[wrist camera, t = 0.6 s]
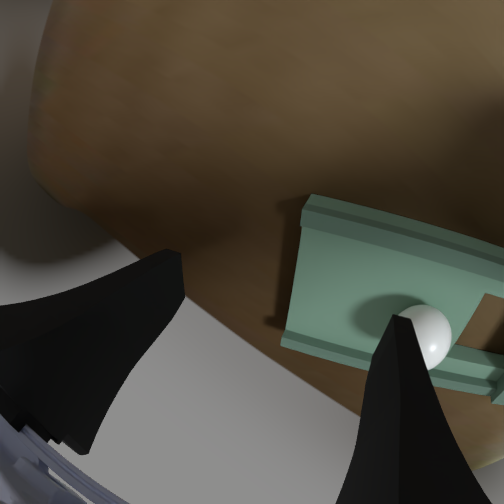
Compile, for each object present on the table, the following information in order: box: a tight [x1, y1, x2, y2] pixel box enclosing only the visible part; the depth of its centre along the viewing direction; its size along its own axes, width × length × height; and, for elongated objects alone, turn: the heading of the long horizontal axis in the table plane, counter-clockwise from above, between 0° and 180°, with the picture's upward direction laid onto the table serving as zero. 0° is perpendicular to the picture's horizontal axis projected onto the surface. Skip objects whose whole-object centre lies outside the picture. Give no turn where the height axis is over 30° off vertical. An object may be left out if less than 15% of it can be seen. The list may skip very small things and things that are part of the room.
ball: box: [399, 305, 452, 370], centre depth 16 cm, size 4×4×4 cm
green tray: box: [280, 194, 504, 405], centre depth 17 cm, size 20×11×3 cm, turn 87°
